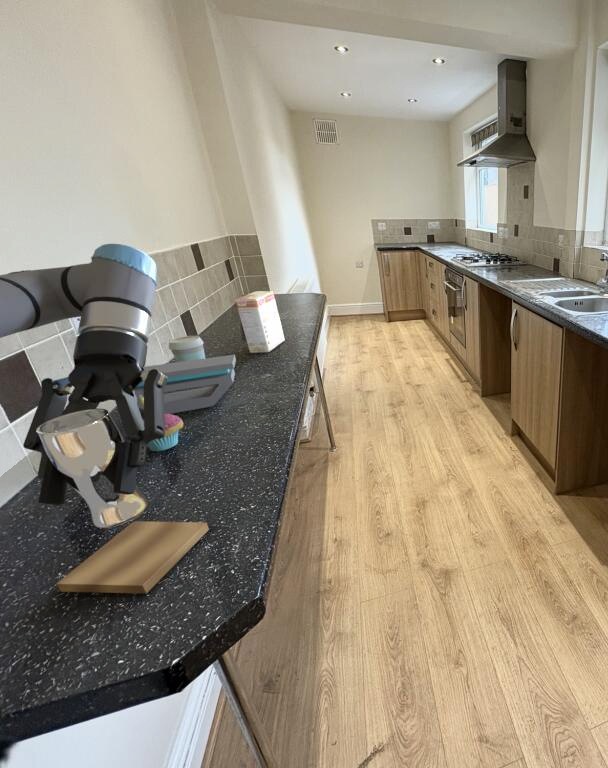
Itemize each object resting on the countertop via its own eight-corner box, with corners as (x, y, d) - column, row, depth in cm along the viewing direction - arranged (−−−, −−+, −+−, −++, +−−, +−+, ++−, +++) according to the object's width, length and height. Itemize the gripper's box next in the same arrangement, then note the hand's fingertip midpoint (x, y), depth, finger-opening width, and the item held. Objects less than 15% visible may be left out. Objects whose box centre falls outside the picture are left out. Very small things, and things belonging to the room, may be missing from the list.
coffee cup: (217, 369, 132) (205, 334, 127) (208, 379, 125) (196, 341, 120) (185, 373, 130) (173, 336, 125) (175, 383, 122) (161, 344, 118)
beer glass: (150, 490, 62) (108, 402, 56) (156, 512, 58) (111, 419, 52) (88, 513, 58) (35, 420, 52) (89, 539, 53) (31, 441, 47)
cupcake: (130, 451, 88) (108, 401, 83) (173, 432, 95) (155, 385, 90) (156, 459, 85) (135, 407, 80) (198, 439, 92) (181, 391, 87)
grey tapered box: (244, 390, 117) (234, 354, 113) (243, 400, 111) (232, 363, 107) (133, 409, 106) (116, 370, 102) (124, 421, 100) (106, 381, 96)
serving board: (60, 591, 56) (55, 583, 55) (137, 528, 67) (133, 521, 66) (146, 593, 55) (142, 585, 55) (209, 529, 66) (206, 522, 66)
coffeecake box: (266, 340, 161) (254, 291, 153) (285, 340, 162) (274, 290, 154) (248, 353, 148) (234, 299, 140) (269, 352, 148) (256, 298, 141)
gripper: (203, 346, 66) (192, 488, 58) (52, 357, 61) (17, 515, 53) (178, 322, 59) (161, 480, 51) (5, 333, 54) (-43, 509, 47)
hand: (88, 497), depth 52 cm, fingers closed on beer glass, 7 cm apart
